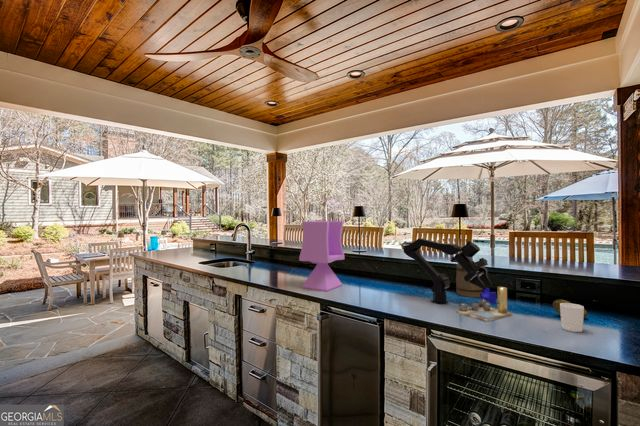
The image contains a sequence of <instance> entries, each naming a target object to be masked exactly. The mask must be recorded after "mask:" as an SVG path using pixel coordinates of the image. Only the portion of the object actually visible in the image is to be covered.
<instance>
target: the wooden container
mask: <svg viewBox="0 0 640 426" xmlns="http://www.w3.org/2000/svg"><path fill="white" fill-rule="evenodd" d="M468 258H469V259H470V260H471V261H474V260H473V259H472V257H468ZM482 267H484V266H482ZM461 268H462V267H461V266H460V265H459V264H458V263H456V271H455V273H456V275H455V276H456V279H455V283H456V284H455V288H456V289H455V293H456V294H457V295H459V296H462V297H468V298H480V293H483V288H480V287H478V286H476V285H474V284H472V283H469V281H468V282H466V281H465V279H464V276H465V275H466V274H468V273H467V272H466V271H465V270H462V269H461Z"/></svg>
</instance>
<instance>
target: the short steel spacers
mask: <svg viewBox="0 0 640 426" xmlns="http://www.w3.org/2000/svg"><path fill="white" fill-rule="evenodd" d="M478 300H479V301H478V302H477V301H472V302H471V307H472V310H473V311H478V306H480V307H483V310H485V311H490V307H491V303H489V302H488V301H487V300H485V299H482V298H479V299H478ZM467 304H468V303H466V302H460V303H459V310H460V311H463V312H466V311H467V308H468V307H467V306H468V305H467Z"/></svg>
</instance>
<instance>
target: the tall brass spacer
mask: <svg viewBox="0 0 640 426" xmlns="http://www.w3.org/2000/svg"><path fill="white" fill-rule="evenodd" d="M496 289H497V290H496V291H497V292H496V298H497V309H498V313H502V314H507V312H508V288H507V287H505V286H497V288H496Z"/></svg>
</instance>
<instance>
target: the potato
mask: <svg viewBox="0 0 640 426" xmlns="http://www.w3.org/2000/svg"><path fill="white" fill-rule="evenodd" d="M560 303H571V302H570V301H568V300H564V299H560V298H559V299H556V300H554V301H553V302H552V307H553V309H554V311H555V312H557V313H558V314H560ZM560 315H561V314H560ZM587 317H588V312H587V310H586V309H585V308H584V317H583V319H586V318H587Z"/></svg>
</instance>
